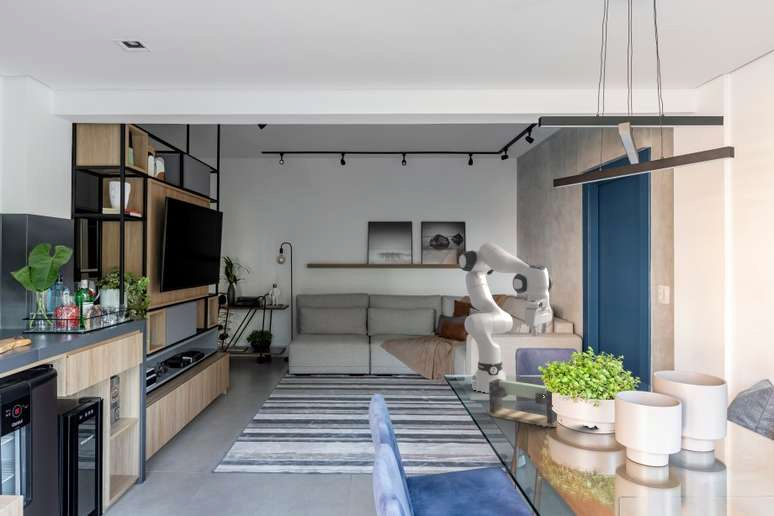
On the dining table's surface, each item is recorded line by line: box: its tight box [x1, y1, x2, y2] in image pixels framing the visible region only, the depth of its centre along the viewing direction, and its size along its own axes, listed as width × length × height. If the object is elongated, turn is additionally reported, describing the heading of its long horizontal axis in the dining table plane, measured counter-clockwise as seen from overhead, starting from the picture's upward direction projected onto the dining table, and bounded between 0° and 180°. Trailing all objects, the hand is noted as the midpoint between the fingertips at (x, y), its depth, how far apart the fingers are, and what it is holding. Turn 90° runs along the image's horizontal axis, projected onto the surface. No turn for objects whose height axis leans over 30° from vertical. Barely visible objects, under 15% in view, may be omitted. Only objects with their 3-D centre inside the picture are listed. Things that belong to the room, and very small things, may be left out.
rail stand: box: [487, 379, 557, 428], centre depth 206 cm, size 29×8×14 cm, turn 50°
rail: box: [499, 379, 549, 400], centre depth 205 cm, size 20×3×5 cm, turn 50°
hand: (539, 334), depth 216 cm, fingers open, 8 cm apart
